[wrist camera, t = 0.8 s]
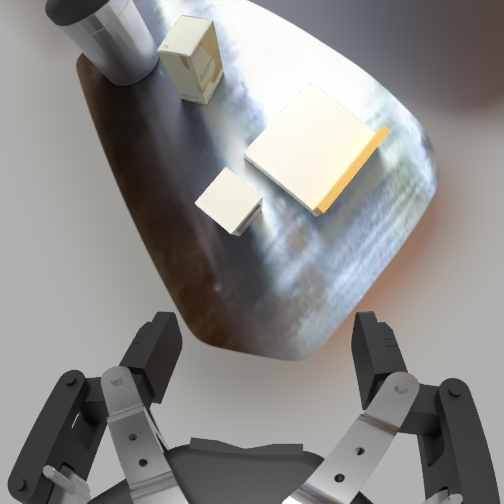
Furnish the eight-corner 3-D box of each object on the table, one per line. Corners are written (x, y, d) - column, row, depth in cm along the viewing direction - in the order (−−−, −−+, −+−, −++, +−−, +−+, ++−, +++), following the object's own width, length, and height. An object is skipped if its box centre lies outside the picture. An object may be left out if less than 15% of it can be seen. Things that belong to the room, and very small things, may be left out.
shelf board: (243, 157, 38) (241, 145, 33) (309, 88, 37) (314, 70, 32) (315, 216, 38) (324, 213, 33) (376, 142, 37) (389, 130, 32)
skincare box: (207, 106, 38) (188, 59, 26) (180, 99, 38) (153, 53, 26) (225, 70, 38) (214, 18, 25) (198, 64, 38) (180, 13, 25)
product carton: (212, 214, 38) (194, 203, 27) (235, 187, 38) (225, 166, 27) (240, 237, 38) (233, 235, 27) (263, 211, 38) (264, 198, 27)
